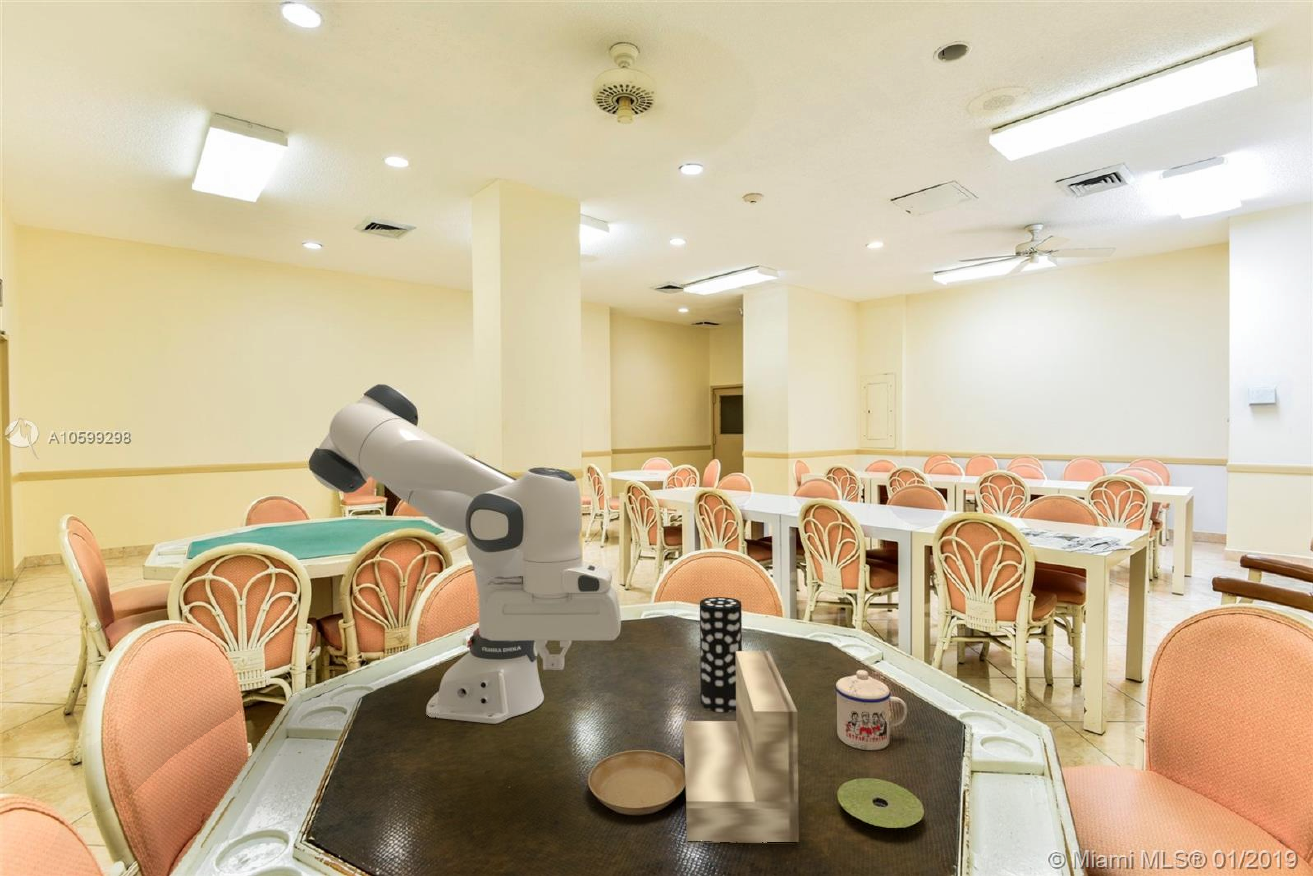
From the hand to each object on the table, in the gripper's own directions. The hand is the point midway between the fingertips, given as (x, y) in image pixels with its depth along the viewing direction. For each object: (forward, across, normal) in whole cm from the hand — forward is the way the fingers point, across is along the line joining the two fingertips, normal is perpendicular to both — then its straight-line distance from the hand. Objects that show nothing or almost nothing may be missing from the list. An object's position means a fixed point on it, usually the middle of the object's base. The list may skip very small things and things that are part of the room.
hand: (553, 668), depth 88 cm
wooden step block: (+18, +26, 0) cm, 32 cm away
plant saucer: (+19, +12, 0) cm, 23 cm away
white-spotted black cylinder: (+19, +27, +30) cm, 45 cm away
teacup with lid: (+19, +52, +16) cm, 58 cm away
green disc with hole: (+19, +46, -5) cm, 50 cm away
